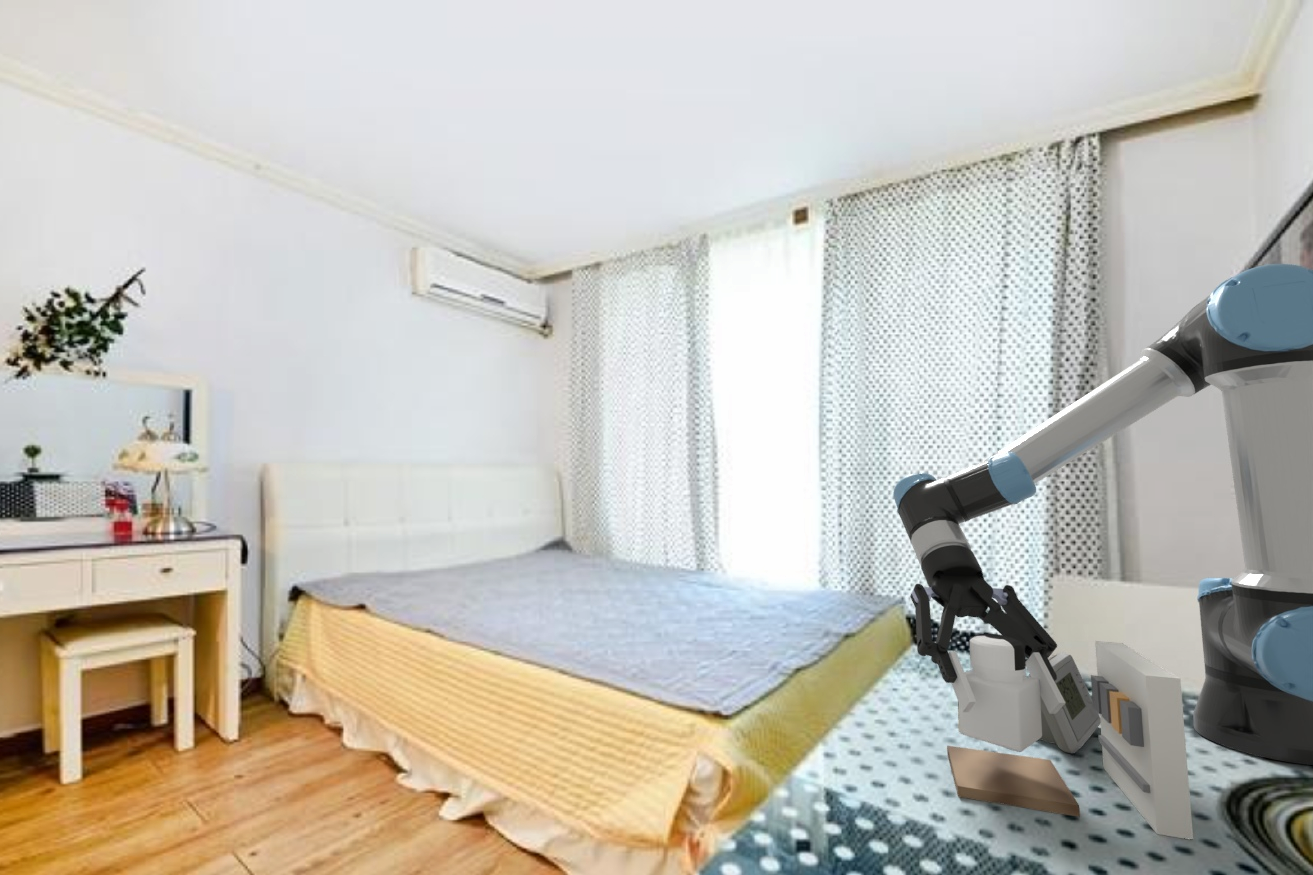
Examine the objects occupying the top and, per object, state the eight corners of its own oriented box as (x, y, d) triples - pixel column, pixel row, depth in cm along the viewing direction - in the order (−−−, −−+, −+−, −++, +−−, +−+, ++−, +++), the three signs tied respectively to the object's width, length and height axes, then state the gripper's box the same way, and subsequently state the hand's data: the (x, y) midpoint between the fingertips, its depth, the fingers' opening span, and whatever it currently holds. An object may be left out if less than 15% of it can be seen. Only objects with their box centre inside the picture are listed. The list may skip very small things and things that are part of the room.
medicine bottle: (981, 720, 78) (978, 627, 79) (1043, 738, 73) (1038, 638, 74) (957, 734, 74) (954, 635, 75) (1021, 753, 68) (1016, 647, 69)
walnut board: (1050, 769, 76) (1050, 759, 76) (1080, 817, 65) (1079, 805, 65) (947, 754, 80) (947, 745, 80) (958, 796, 69) (957, 785, 69)
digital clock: (1073, 760, 79) (1067, 678, 80) (1004, 736, 87) (1000, 662, 88) (1125, 734, 87) (1120, 660, 88) (1058, 715, 95) (1054, 647, 96)
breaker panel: (1131, 772, 75) (1122, 643, 77) (1193, 840, 60) (1180, 678, 62) (1092, 766, 77) (1084, 640, 78) (1143, 831, 62) (1131, 674, 63)
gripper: (1012, 575, 90) (1093, 723, 73) (864, 573, 90) (910, 720, 73) (1032, 543, 85) (1123, 693, 68) (876, 541, 85) (928, 690, 68)
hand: (1013, 707), depth 71 cm, fingers closed on medicine bottle, 10 cm apart
